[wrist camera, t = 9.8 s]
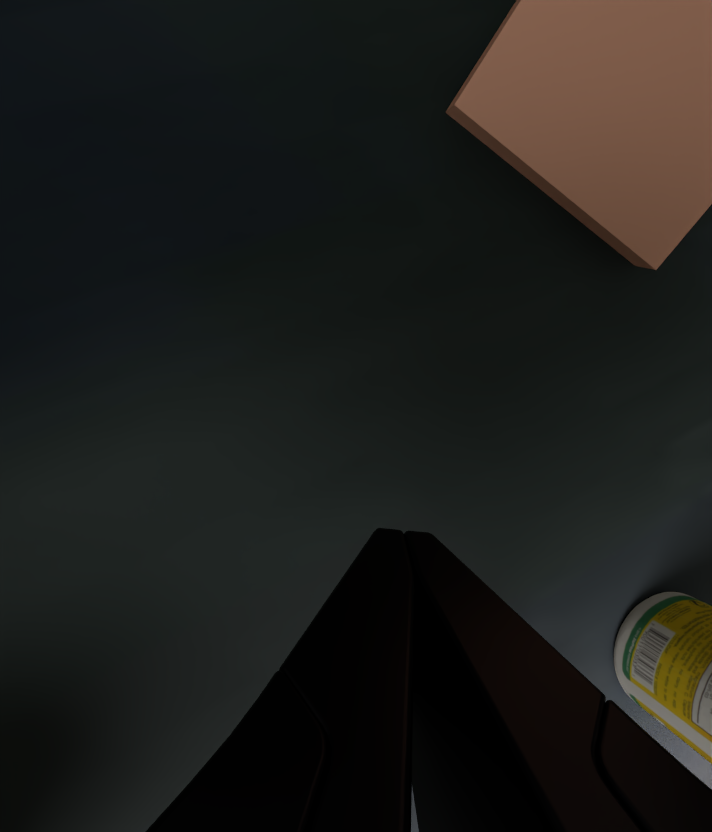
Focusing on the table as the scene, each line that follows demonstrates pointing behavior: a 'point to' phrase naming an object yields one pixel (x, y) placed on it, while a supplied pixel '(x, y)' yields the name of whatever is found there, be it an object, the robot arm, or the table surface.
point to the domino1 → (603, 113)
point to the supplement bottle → (670, 664)
